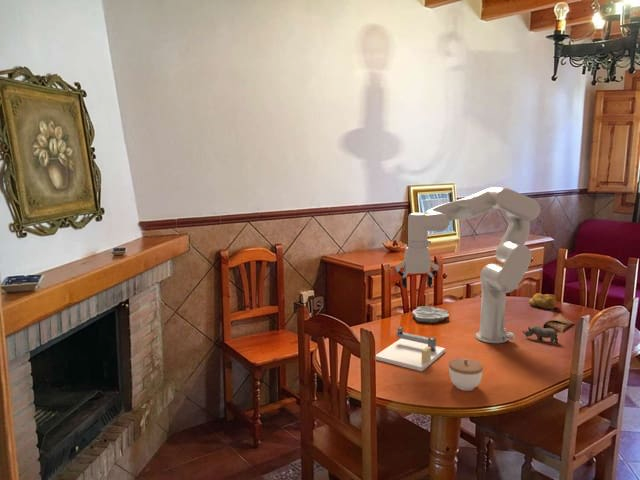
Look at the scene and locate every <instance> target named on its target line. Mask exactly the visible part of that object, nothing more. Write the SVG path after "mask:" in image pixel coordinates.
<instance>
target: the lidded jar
mask: <svg viewBox="0 0 640 480" xmlns="http://www.w3.org/2000/svg"><path fill="white" fill-rule="evenodd" d="M483 370H484V368H483V364H482V363H481V362H480V361H477V360H475V359H471V358H468V357H467V358H465V357H459V358H458V357H457V358H454V359H451V360H450V361H448V372H449V378H450V380H451V382H452V384H453V385H454V387H456V388H457V389H458V390H461V391H467V392H469V391H473V390H474V389H475V388H476V387H477V386H478V385H480V383H481V381H482V377H483Z"/></svg>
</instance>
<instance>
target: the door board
mask: <svg viewBox="0 0 640 480" xmlns="http://www.w3.org/2000/svg"><path fill="white" fill-rule="evenodd" d="M444 353H446V348H445V347H441V346H437V345H436V350H435V351H431V347H428V344H426V343H421V342H417V341H412V340H407V339H403V338H398V340H397V341H395V342H393V343H392V344H391V345H389V346H387V347H385V348H384V349H383V350H381V351H380V352H379V353H376V361H380V362H384V363H387V364H391V365H396V366H399V367H403V368H406V369H407V368H408V369H410V370H413V371H414V370H415V371H419V372H423V371H424V370H426V369H427V368H428V367H429V366H430V365H432V364H433V363H434V362H436V360H438V358H440V357H441V356H442V355H444Z"/></svg>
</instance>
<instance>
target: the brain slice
mask: <svg viewBox="0 0 640 480" xmlns="http://www.w3.org/2000/svg"><path fill="white" fill-rule="evenodd" d="M449 312H450V311H449V310H447V309H443V308H439V307H435V306H428V305H426V306H425V305H420V306H417V307H416V309H413V310H412V316H413V318H414V319H415V320H416V321H417V322H419V323H426V324H427V323H429V324H434V323H438V322H441V321H444V320H445V319H446V318H447V317H448V316H450V313H449Z"/></svg>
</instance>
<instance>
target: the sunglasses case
mask: <svg viewBox="0 0 640 480" xmlns="http://www.w3.org/2000/svg"><path fill="white" fill-rule="evenodd" d="M575 324H576V323H575V322H573V321H571V320H570V319H568V318H566V317H565V316H563V315H562V314H561V313H558V314H557V315H555V316H553V317H552V318H550V319H549V320H547V321H546V322H545V323H543V325H542V328H550V329H554V330H555V331H556V332H557V333H560V334H564V332H565V331H567V330H568V329H569V328H570V327H572V326H574V325H575Z"/></svg>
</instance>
